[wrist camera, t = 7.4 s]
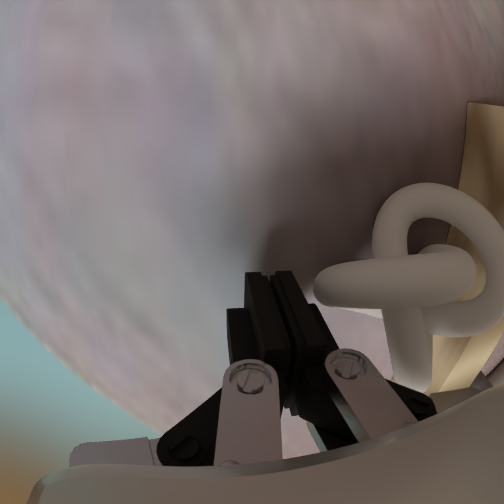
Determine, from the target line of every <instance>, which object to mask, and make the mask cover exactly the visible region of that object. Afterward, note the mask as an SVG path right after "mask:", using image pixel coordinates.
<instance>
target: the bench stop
mask: <svg viewBox="0 0 504 504" xmlns="http://www.w3.org/2000/svg"><path fill="white" fill-rule="evenodd" d="M458 190H460V191H462V192H464V193H465V194H467V195H469V196H471V197H472V198H474V199H475V200H476V201H478V202H479V203H480V204H481V205H483V206H484V207H485V208H486V209H487V210H488V211H489V212H490V213H491V214H492V215H493V217H494V218H495V219H496V220H497V221H498V223H499V224H500V226H501V227H502V229H503V230H504V107H502V106H496V105H488V104H480V103H471V102H467V119H466V133H465V144H464V153H463V161H462V168H461V175H460V181H459V187H458ZM445 245H451V246H455V247H458V248H461V249H463V250H464V251H466V252H467V253H469V255H470V256H471V257H472V259H473V261H474V263H475V267H476V276H475V281H474V283H473V285H472V287H471V289H470V290H469V291H468V292H467V293H466V294H465V295H464V296H462V297H460V298H458V299H457V300H454V301H466V300H470V299H473V298H475V297H477V296H478V295H479V294H480V293H481V292H482V291H483V289H484V287H485V283H486V271H485V266H484V263H483V260H482V258H481V255H480V254H479V252H478V250H477V248H476V247H475V245H474V244H473V243H472V242H471V240H470V239H469V238H468V237H467V236H466V235H465V234H464V233H463V232H461V231H460V230H459V229H458V228H456V227H455V226H453V225H450V229H449V233H448V237H447V240H446V244H445ZM503 332H504V317H503V318H502V319H501V320H500V321H499V322H498V323H497V324H496V325H495V326H493V327H492V328H490V329H489V330H487V331H485V332H483V333H480V334H478V335H474V336H468V337H444V336H438V335H433V358H432V380H431V384H430V385H429V387H428V389H427V390H426V391H425V392H423V394H425V395H427V396H429V395H430V393H437V392H444V391H450V390H456V389H462V388H467V387H473V388H476V389H478V390H479V391H480V392H483V391H485V390H487V389H489V388H492V387H493V386H492V384H491V383H490V382H489V380H488V379H487V378H486V376H485V375H484V374H483V373H482V371H481V369H482V367H483V366H484V364H485V363H486V361H487V359H488V358H489V356H490V355H491V353H492V351H493V349H494V348H495V346H496V344H497V343H498V341H499V339H500V337H501V335H502V334H503ZM391 381H392V382H395V378H394V376H393V378H392V380H391ZM395 383H396V382H395Z"/></svg>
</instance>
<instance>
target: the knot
mask: <svg viewBox="0 0 504 504" xmlns="http://www.w3.org/2000/svg"><path fill="white" fill-rule="evenodd" d="M420 218H436V219H440V220H443V221H445V222H447V223H449V224H451V225H453V226H455V227H456V228H458V229H459V230H460V231H461V232H463V233H464V234H465V235H466V236H467V237H468V238H469V239H470V240H471V242H472V243H473V244H474V245H475V247H476V248H477V250H478V252H479V254H480V255H481V258H482V260H483V263H484V266H485V271H486V283H485V287H484V289H483V291H482V292H481V293H480V294H479V295H478V296H477V297H475V298H473V299H470V300H466V301H454V300H457V299H458V298H460V297H462V296H464V295H465V294H466V293H467V292H468V291H469V290H470V289H471V287H472V285H473V283H474V281H475V276H476V267H475V263H474V261H473V259H472V257H471V256H470V255H469V253H467V252H466V251H464V250H463V249H461V248H458V247H455V246H451V245H444V244H434V245H429V246H427V247H425V248H424V249H422V250H421V251H420V252H419V253H418V254H414V255H408V250H407V234H408V230H409V227H410V225H411V224H412V223H413V222H414V221H416V220H418V219H420ZM313 293H314V296H315V298H316V299H317V300H318V301H319V302H320V303H321V304H323V305H325V306H330V307H335V308H340V309H345V310H350V311H354V312H359V313H363V314H367V315H370V316H374V317H377V318H381V319H383V321H384V326H385V331H386V337H387V342H388V347H389V352H390V358H391V364H392V369H393V374H394V378H395V382H396V383H397V384H400V385H402V386H405V387H408V388H410V389H413V390H416V391H419V392H421V393H423V392H425V391H426V390H427V389H428V387H429V385H430V384H431V380H432V358H433V335H438V336H444V337H468V336H474V335H478V334H480V333H483V332H485V331H487V330H489V329H490V328H492V327H493V326H495V325H496V324H497V323H498V322H499V321H500V320H501V319H502V318H503V317H504V230H503V229H502V227H501V226H500V224H499V223H498V221H497V220H496V219H495V218H494V217H493V215H492V214H491V213H490V212H489V211H488V210H487V209H486V208H485V207H484V206H483V205H481V204H480V203H479V202H478V201H476V200H475V199H474V198H472V197H471V196H469V195H467V194H465V193H464V192H462V191H460V190H457V189H455V188H453V187H450V186H447V185H442V184H437V183H417V184H412V185H408V186H405V187H403V188H401V189H399V190H398V191H396V192H394V193H393V194H392V195H391V196H390V197H389V198H388V199H387V200H386V201H385V202H384V204H383V205H382V207H381V208H380V210H379V212H378V214H377V217H376V220H375V224H374V227H373V234H372V259H367V260H359V261H352V262H346V263H341V264H337V265H333V266H330V267H328V268H325V269H324V270H322V271H321V272H320V273H319V274H318V275H317V276H316V278H315V280H314V283H313Z"/></svg>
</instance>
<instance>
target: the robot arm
mask: <svg viewBox="0 0 504 504" xmlns="http://www.w3.org/2000/svg"><path fill="white" fill-rule="evenodd" d="M227 339H228V351H229V360H230V366H229V367H228V368H227V370H226V371H225V374H224V377H223V385H222V388H221V389H219V390H218V391H217V392H216V393H215V394H214V395H212V396H211V397H210V398H209V399H208V400H206V401H205V402H204V403H203V404H201V405H200V406H199V407H198V408H197V409H195V410H194V411H193V412H192V413H190V414H189V415H188V416H186V417H185V418H184V419H183V420H181V421H180V422H179V423H178V424H176V425H175V426H174V427H172V428H171V429H170V430H168V431H167V432H166V433H165V434H164V435H163V436H162V437H161V438H157V439H151V440H149V439H148V438H147V437H143V438H135V439H127V440H116V441H103V442H87V443H82V444H80V445H78V446H77V447H75V448H74V449H73V451H72V452H71V454H70V459H69V467H67V468H62V469H58V470H55V471H52V472H50V473H48V474H46V475H44V476H42V477H41V478H40V479H39V480H38V481H37V482H36V484H35V485H34V487H33V489H32V491H31V493H30V496H29V499H28V502H27V504H504V384H502V385H498V386H495V387H492V388H489V389H487V390H485V391H483V392H480V391H479V390H478V389H476V388H473V387H467V388H462V389H456V390H450V391H444V392H437V393H430V395H429V396H427V395H425V394H423V393H421V392H419V391H416V390H413V389H410V388H408V387H405V386H402V385H400V384H397V383H395V382H392V381H390V380H387V379H384V377H383V376H382V375H381V374H380V372H379V371H378V370H377V369H376V367H375V366H374V365H373V364H372V362H371V361H370V360H369V359H368V358H367V357H366V356H365V355H364V354H362V353H361V352H359V351H356V350H353V349H345V348H344V349H339V347H338V345H337V343H336V341H335V340H334V338H333V336H332V334H331V332H330V330H329V328H328V326H327V324H326V322H325V321H324V319H323V317H322V315H321V313H320V311H319V309H318V307H317V306H316V305H315V304H314V303H312V304H308V303H307V301H306V299H305V297H304V295H303V293H302V291H301V289H300V287H299V285H298V283H297V281H296V279H295V277H294V275H293V273H292V271H276V272H275V275H271V276H270V281H269V280H268V278H267V276H262V274H261V272H246V273H245V293H244V308H231V309H227ZM283 406H284V408H285V409H286V408H290V412H291V415H292V416H296V415H299V417H300V418H302V419H304V420H306V421H307V422H306V424H307V427H308V429H309V431H310V433H311V435H312V437H313V439H314V441H315V443H316V445H317V447H318V449H319V450H320V453H315V454H311V455H305V456H300V457H295V458H289V459H283V457H282V438H281V415H282V410H283Z"/></svg>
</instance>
